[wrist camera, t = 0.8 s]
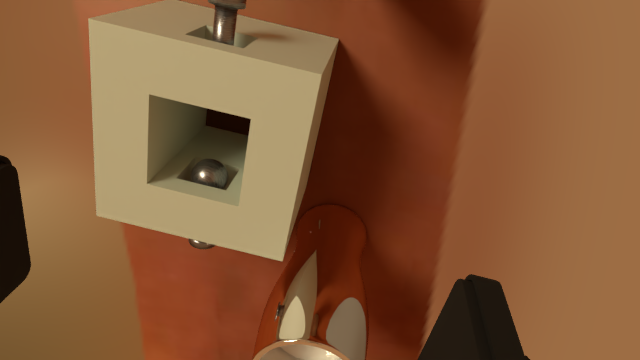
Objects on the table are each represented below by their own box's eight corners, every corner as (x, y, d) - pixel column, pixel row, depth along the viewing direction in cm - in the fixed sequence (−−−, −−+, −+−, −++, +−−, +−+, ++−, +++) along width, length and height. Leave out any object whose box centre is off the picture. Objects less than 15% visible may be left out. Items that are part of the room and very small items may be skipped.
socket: (171, -2, 31) (88, 18, 22) (339, 39, 31) (321, 74, 22) (164, 151, 37) (96, 215, 28) (306, 186, 37) (282, 261, 28)
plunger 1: (241, 103, 28) (230, 116, 26) (204, 94, 28) (189, 106, 26) (255, -5, 25) (243, -1, 23) (213, -15, 25) (197, -11, 23)
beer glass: (382, 211, 37) (382, 358, 24) (359, 275, 40) (347, 435, 27) (301, 189, 37) (255, 323, 24) (284, 254, 40) (236, 404, 27)
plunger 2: (199, 148, 30) (185, 164, 28) (234, 157, 30) (223, 173, 28) (193, 226, 33) (179, 246, 31) (224, 234, 33) (213, 254, 31)
